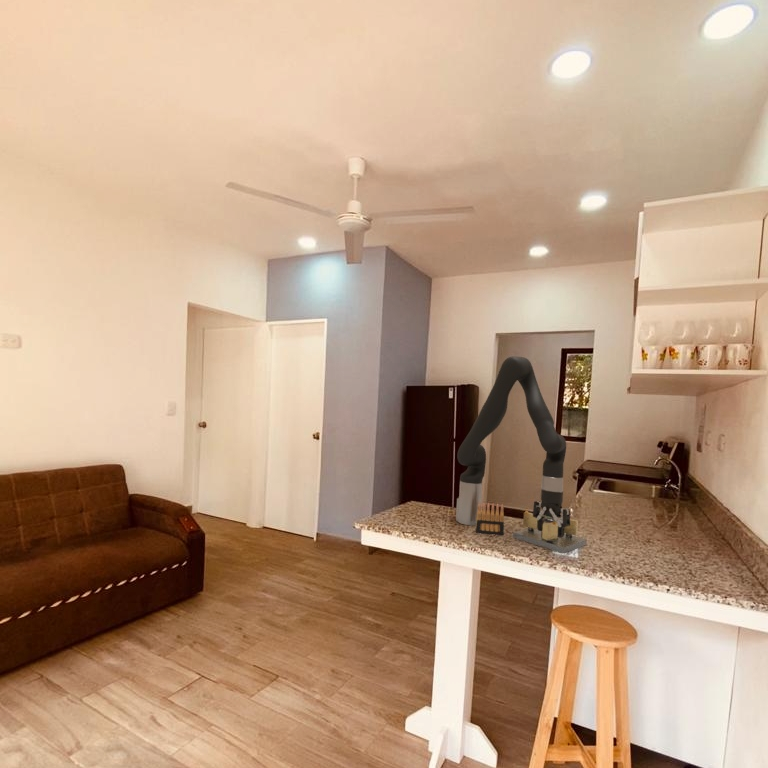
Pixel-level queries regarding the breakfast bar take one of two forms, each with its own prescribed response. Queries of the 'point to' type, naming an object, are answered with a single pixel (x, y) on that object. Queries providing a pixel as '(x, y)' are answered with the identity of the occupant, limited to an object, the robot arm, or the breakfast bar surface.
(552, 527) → the knob front
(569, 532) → the cream rectangular block
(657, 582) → the breakfast bar surface
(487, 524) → the ammunition clip
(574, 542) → the plate
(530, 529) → the block with orange knob
